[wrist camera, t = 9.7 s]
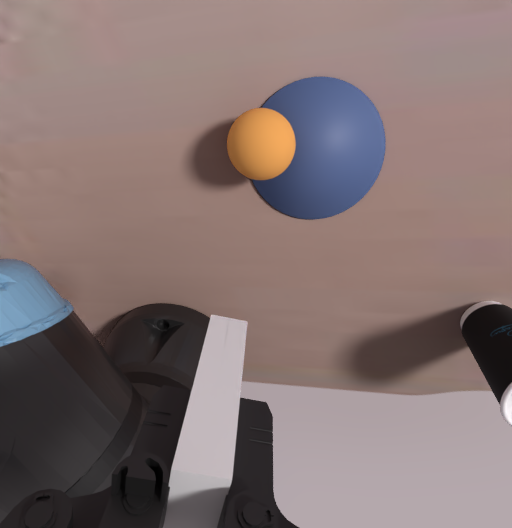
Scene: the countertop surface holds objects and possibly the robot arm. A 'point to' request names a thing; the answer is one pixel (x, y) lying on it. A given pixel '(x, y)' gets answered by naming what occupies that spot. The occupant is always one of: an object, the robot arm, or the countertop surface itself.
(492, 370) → the dixie cup
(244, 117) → the ball
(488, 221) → the countertop surface
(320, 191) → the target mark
